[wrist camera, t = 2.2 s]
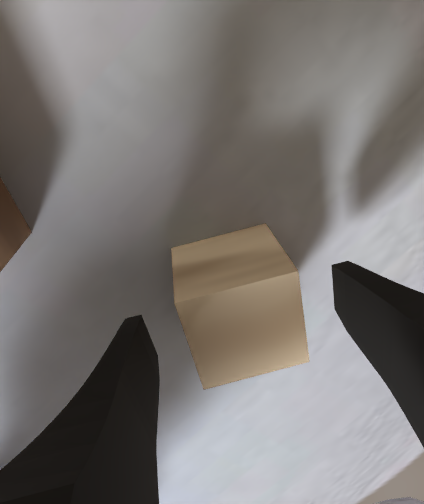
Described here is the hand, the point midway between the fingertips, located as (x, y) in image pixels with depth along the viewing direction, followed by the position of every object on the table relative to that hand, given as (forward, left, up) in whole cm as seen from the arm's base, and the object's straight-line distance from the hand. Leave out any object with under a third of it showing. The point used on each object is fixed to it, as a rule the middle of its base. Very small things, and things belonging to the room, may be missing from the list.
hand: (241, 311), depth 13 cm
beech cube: (0, 0, -3) cm, 3 cm away
